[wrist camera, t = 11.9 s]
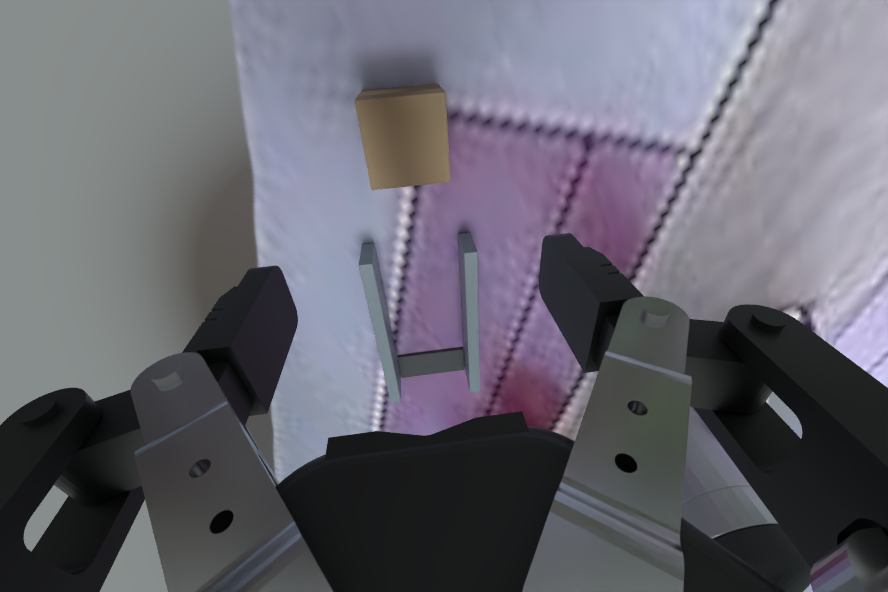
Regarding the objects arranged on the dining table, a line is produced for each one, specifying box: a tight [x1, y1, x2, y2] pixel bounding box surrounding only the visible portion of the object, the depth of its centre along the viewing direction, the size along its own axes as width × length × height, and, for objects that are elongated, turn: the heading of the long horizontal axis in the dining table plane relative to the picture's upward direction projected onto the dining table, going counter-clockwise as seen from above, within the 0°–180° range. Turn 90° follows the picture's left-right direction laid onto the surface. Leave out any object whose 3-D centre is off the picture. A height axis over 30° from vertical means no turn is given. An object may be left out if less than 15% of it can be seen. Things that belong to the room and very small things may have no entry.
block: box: [355, 84, 451, 190], centre depth 24 cm, size 5×5×5 cm
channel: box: [359, 232, 480, 403], centre depth 34 cm, size 9×16×4 cm, turn 4°
